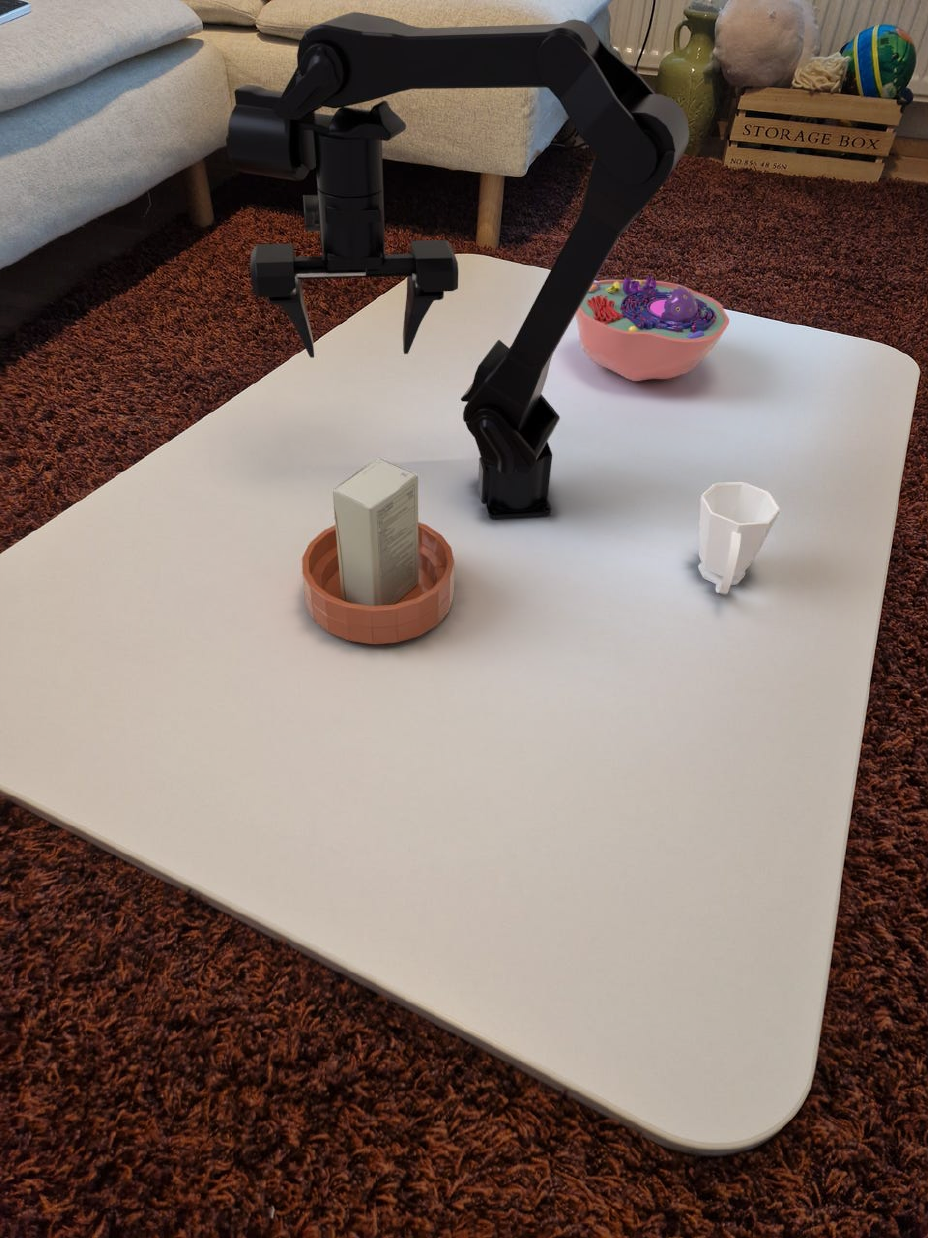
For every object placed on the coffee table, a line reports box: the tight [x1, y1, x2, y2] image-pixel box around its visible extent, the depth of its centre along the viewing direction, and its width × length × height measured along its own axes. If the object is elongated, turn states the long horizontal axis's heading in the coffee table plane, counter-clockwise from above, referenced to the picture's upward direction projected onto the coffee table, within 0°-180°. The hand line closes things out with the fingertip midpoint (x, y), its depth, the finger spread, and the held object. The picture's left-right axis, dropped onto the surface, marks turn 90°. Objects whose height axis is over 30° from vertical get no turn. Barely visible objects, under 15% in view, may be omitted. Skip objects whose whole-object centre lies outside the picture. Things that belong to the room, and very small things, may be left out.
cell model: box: [574, 276, 730, 382], centre depth 114 cm, size 17×20×11 cm
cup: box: [697, 481, 782, 595], centre depth 84 cm, size 7×10×8 cm
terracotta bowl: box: [301, 521, 455, 645], centre depth 82 cm, size 13×13×4 cm
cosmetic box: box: [331, 457, 419, 606], centre depth 79 cm, size 6×4×12 cm
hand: (359, 353), depth 91 cm, fingers open, 9 cm apart
